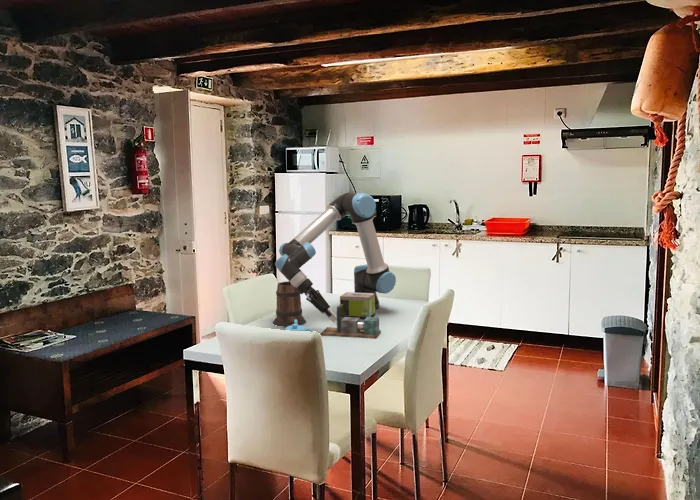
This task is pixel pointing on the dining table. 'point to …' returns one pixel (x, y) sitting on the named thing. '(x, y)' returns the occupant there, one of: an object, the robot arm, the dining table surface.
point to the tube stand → (355, 328)
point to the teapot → (297, 327)
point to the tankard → (288, 305)
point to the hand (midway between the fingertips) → (336, 320)
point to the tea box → (358, 305)
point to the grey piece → (341, 315)
